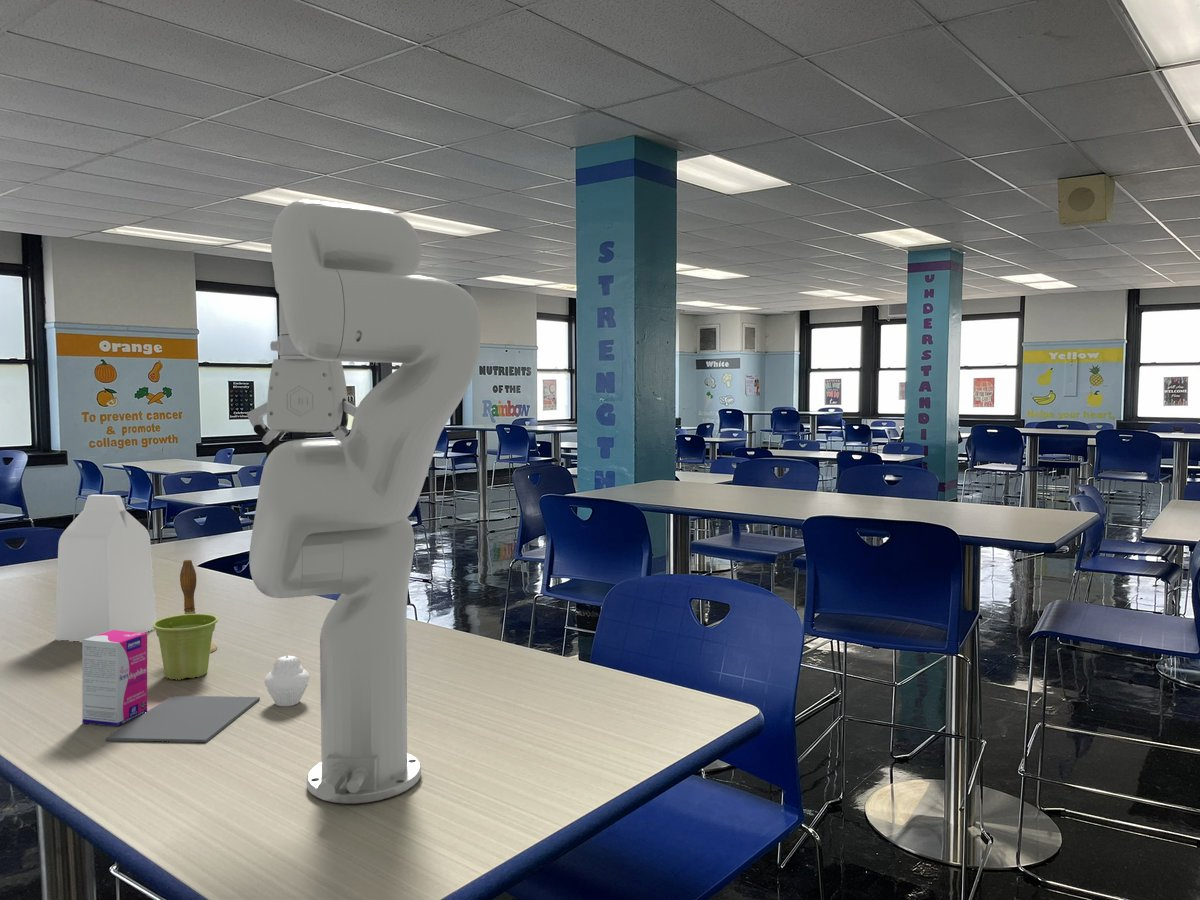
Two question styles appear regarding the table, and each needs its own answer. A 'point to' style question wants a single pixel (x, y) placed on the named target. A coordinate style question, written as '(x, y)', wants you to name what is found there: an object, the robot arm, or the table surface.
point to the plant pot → (185, 644)
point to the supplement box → (114, 677)
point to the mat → (185, 719)
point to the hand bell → (190, 590)
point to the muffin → (287, 681)
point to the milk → (104, 573)
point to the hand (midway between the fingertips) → (309, 473)
